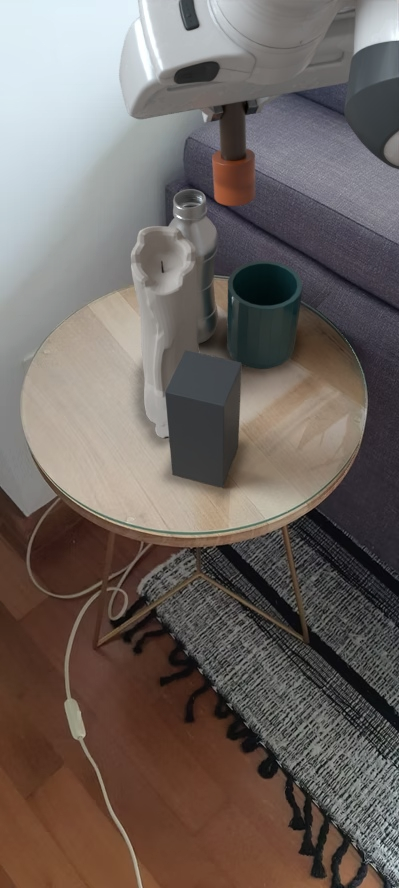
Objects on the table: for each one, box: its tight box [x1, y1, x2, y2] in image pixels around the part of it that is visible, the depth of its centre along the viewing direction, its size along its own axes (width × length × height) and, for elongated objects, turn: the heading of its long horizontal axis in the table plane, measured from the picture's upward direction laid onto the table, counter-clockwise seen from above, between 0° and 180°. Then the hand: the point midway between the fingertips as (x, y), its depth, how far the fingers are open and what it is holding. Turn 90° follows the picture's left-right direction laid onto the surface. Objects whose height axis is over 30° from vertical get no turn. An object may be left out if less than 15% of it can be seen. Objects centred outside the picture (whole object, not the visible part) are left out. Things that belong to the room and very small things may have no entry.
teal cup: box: [226, 260, 303, 370], centre depth 86 cm, size 9×9×10 cm
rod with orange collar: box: [211, 101, 256, 207], centre depth 62 cm, size 4×4×14 cm
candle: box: [130, 225, 200, 439], centre depth 77 cm, size 7×14×20 cm, turn 2°
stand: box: [165, 350, 243, 489], centre depth 73 cm, size 6×6×14 cm
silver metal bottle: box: [168, 188, 220, 345], centre depth 83 cm, size 6×7×20 cm
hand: (229, 110), depth 62 cm, fingers closed on rod with orange collar, 2 cm apart
